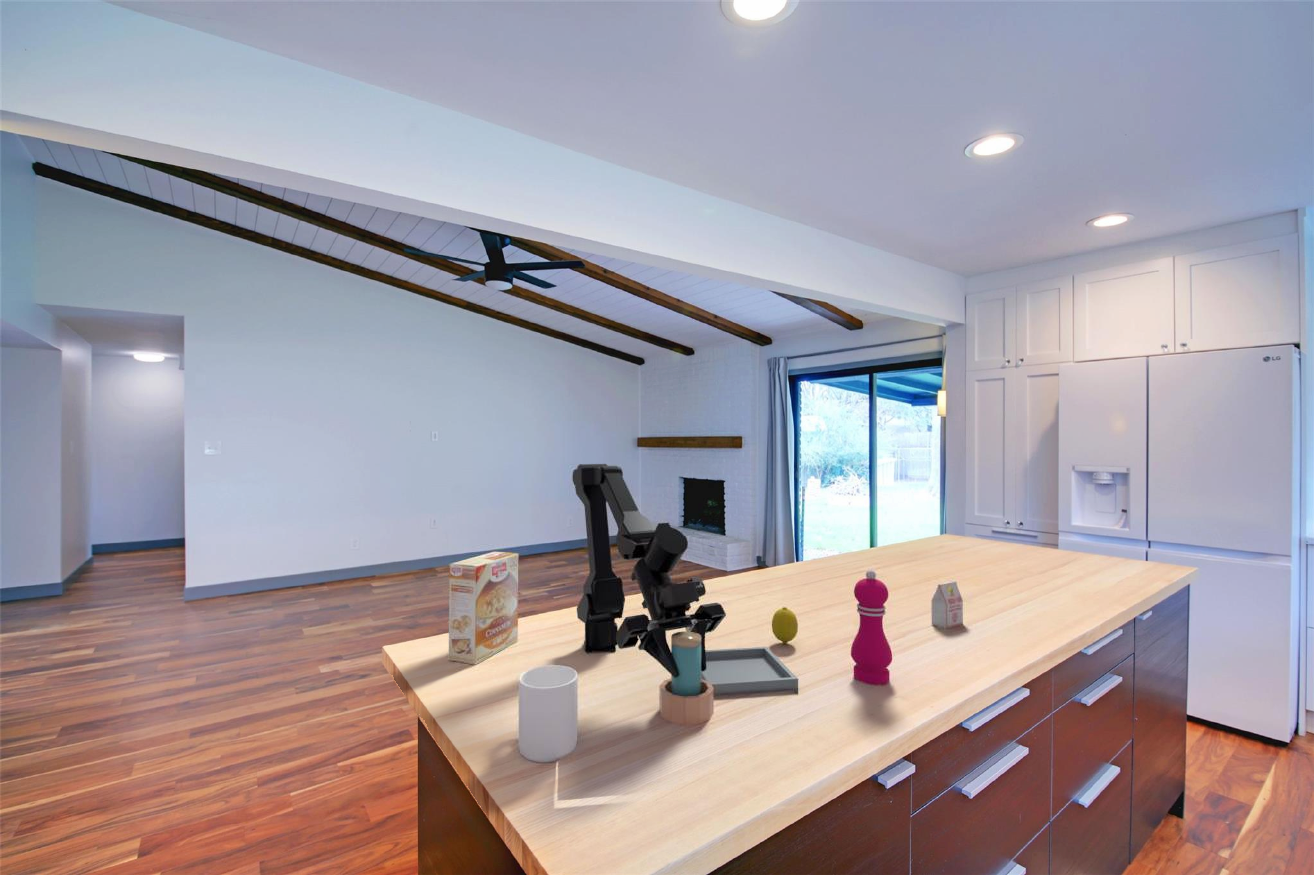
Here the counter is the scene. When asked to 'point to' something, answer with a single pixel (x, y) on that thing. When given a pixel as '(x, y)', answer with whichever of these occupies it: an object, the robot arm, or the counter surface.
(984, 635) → the counter surface
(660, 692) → the terracotta cup
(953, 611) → the milk carton
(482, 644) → the coffeecake box
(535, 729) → the mug
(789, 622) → the lemon
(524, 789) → the counter surface
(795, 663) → the counter surface
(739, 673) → the tray
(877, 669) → the pepper mill
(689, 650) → the spice jar
